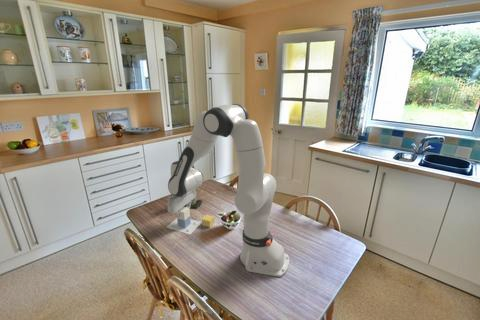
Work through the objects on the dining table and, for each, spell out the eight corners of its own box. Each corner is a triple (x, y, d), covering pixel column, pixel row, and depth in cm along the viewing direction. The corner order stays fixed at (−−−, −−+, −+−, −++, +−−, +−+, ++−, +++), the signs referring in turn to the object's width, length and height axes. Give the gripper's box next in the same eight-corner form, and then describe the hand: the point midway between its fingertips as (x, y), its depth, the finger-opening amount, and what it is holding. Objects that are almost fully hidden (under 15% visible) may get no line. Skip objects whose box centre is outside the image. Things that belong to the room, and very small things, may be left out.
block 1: (190, 215, 133) (189, 207, 132) (184, 220, 129) (183, 212, 127) (182, 213, 135) (182, 206, 134) (177, 218, 131) (176, 210, 129)
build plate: (202, 223, 136) (202, 222, 136) (190, 235, 126) (190, 234, 126) (179, 217, 142) (179, 215, 142) (166, 228, 132) (165, 226, 132)
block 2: (190, 223, 135) (190, 215, 133) (185, 228, 131) (184, 220, 129) (183, 221, 137) (182, 213, 135) (178, 226, 133) (177, 218, 131)
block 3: (214, 224, 136) (214, 216, 134) (210, 229, 132) (209, 221, 130) (207, 222, 138) (206, 214, 136) (202, 226, 134) (201, 219, 132)
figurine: (197, 210, 150) (193, 165, 140) (182, 208, 152) (177, 164, 142) (202, 202, 159) (200, 159, 149) (188, 200, 161) (185, 158, 151)
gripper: (173, 199, 116) (175, 223, 121) (196, 183, 134) (198, 205, 139) (163, 197, 119) (166, 221, 123) (187, 181, 136) (189, 202, 141)
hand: (183, 212), depth 131 cm, fingers open, 8 cm apart
